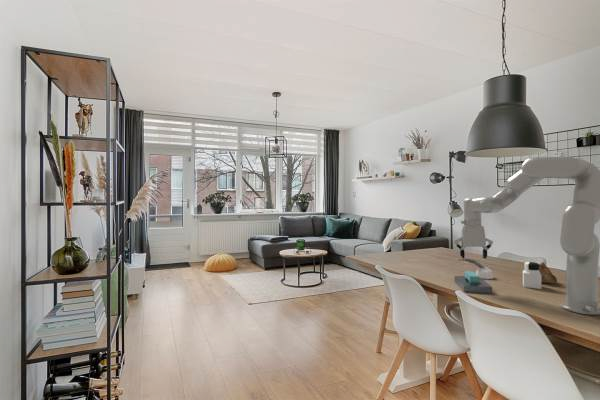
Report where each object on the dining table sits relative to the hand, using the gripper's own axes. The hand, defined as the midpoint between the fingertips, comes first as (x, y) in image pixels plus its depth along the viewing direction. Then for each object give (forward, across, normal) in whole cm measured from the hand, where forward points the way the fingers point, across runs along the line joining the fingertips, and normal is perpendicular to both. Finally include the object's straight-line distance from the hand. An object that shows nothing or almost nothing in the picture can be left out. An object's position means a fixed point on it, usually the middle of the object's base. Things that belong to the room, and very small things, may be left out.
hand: (473, 258), depth 163 cm
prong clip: (+14, -1, +1) cm, 14 cm away
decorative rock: (+15, +37, +19) cm, 45 cm away
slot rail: (+14, -1, +1) cm, 14 cm away
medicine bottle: (+15, +28, +9) cm, 33 cm away
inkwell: (+14, +7, +25) cm, 30 cm away
